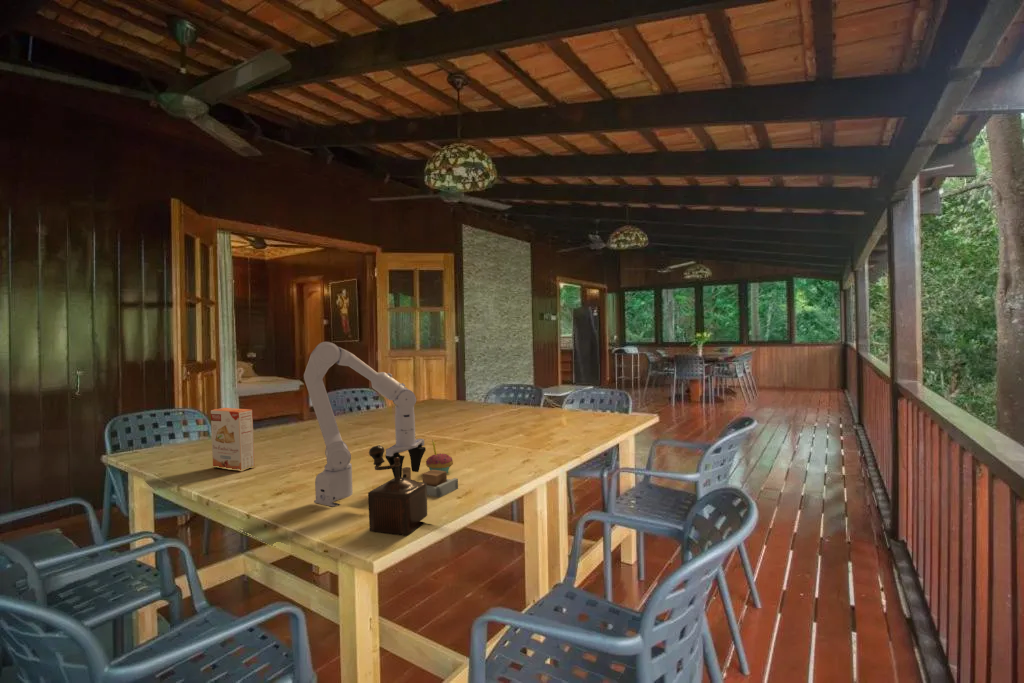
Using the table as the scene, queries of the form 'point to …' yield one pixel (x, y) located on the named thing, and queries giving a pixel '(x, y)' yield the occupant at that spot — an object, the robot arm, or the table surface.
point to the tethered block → (429, 476)
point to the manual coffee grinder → (396, 501)
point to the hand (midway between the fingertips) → (406, 474)
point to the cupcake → (439, 461)
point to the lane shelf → (443, 488)
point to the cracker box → (232, 438)
